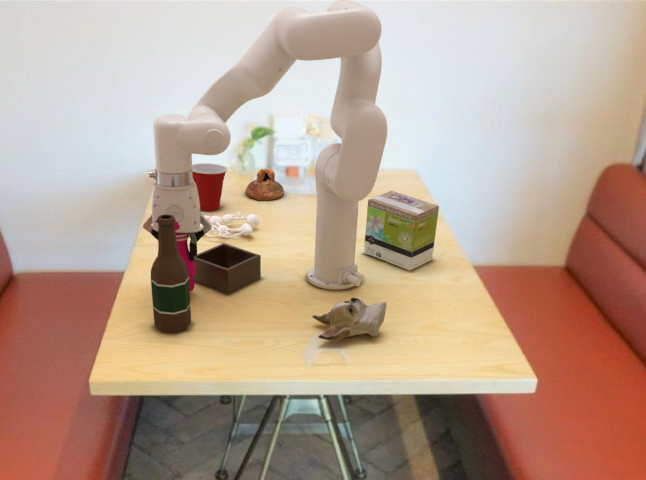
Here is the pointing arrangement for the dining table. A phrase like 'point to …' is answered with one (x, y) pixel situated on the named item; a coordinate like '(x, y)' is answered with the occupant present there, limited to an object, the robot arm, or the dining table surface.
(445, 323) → the dining table surface
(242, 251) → the box
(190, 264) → the pepper mill
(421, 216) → the tea box
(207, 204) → the plastic cup
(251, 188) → the bell
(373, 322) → the ceramic sculpture
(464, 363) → the dining table surface
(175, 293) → the beer bottle
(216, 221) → the tangled rod sculpture
